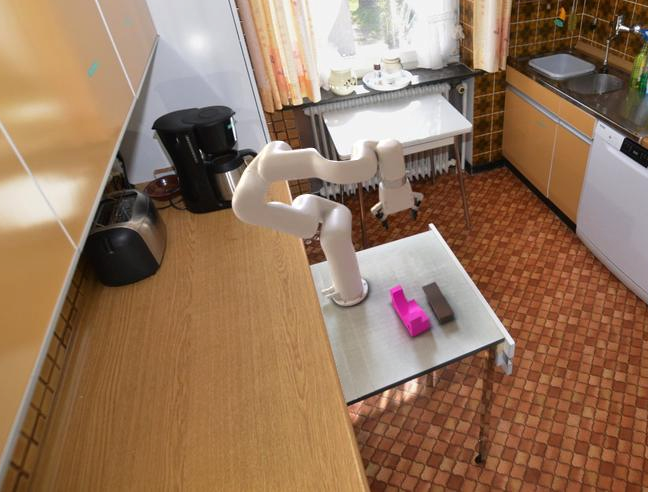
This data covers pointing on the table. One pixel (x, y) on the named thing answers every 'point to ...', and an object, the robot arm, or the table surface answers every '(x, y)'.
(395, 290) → the toy block
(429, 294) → the brown rectangular block
